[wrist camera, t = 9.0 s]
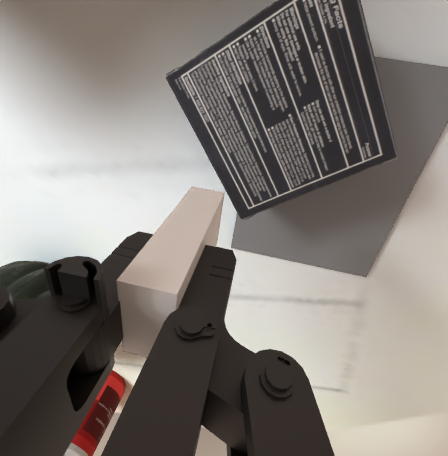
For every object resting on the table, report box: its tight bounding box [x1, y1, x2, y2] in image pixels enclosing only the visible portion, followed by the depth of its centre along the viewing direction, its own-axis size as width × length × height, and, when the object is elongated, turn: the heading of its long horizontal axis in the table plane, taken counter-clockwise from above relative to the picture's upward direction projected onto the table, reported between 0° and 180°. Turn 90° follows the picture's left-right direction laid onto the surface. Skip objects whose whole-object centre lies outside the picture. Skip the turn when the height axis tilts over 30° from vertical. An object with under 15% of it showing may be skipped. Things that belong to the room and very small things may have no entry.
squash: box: [0, 261, 51, 299], centre depth 31 cm, size 14×15×15 cm
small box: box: [166, 0, 398, 220], centre depth 18 cm, size 11×6×10 cm
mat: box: [231, 57, 448, 277], centre depth 23 cm, size 14×18×1 cm
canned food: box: [64, 371, 125, 456], centre depth 41 cm, size 8×8×11 cm
